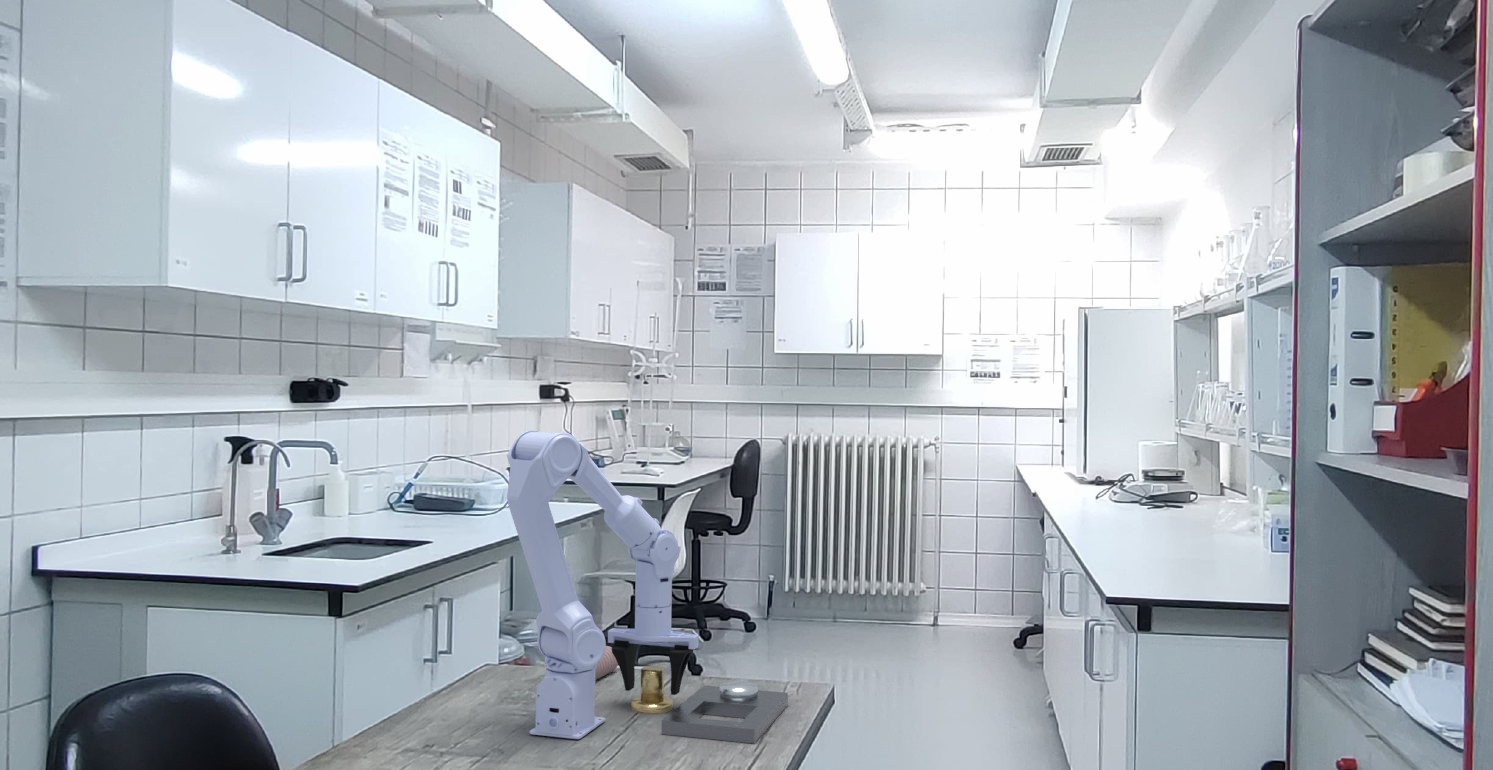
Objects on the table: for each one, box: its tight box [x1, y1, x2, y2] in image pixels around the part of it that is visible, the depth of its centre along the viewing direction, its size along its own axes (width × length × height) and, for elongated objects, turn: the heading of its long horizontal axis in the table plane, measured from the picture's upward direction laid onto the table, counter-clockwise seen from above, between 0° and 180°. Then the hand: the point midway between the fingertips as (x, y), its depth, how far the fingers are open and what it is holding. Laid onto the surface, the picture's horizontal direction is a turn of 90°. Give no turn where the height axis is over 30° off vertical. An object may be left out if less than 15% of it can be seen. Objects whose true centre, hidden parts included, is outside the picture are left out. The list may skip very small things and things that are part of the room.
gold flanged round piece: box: [630, 665, 674, 715], centre depth 173 cm, size 6×6×6 cm
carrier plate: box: [661, 680, 789, 744], centre depth 167 cm, size 20×14×4 cm
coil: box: [595, 645, 619, 681], centre depth 188 cm, size 5×5×18 cm
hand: (652, 691), depth 173 cm, fingers open, 7 cm apart
